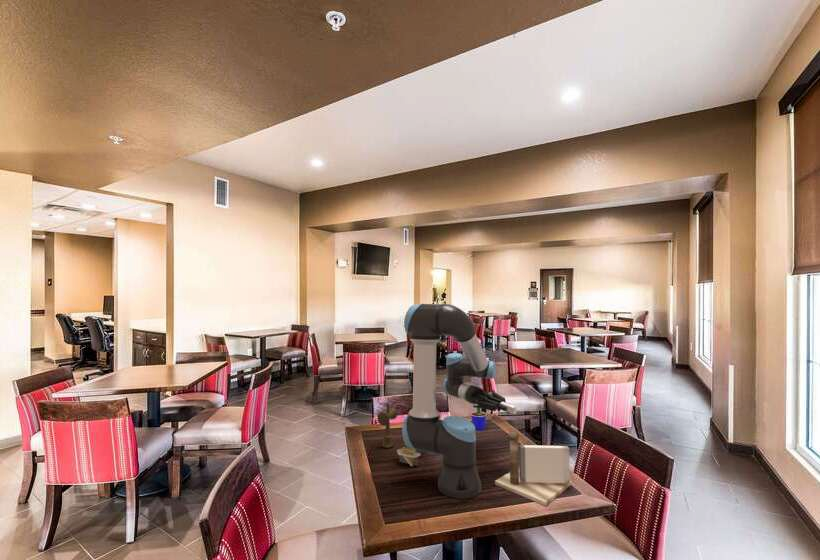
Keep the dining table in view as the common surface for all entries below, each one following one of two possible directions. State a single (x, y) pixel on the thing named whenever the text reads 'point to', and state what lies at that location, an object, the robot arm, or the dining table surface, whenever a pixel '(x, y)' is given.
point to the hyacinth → (478, 409)
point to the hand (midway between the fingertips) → (515, 410)
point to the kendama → (387, 424)
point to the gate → (544, 464)
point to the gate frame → (530, 490)
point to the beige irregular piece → (408, 456)
